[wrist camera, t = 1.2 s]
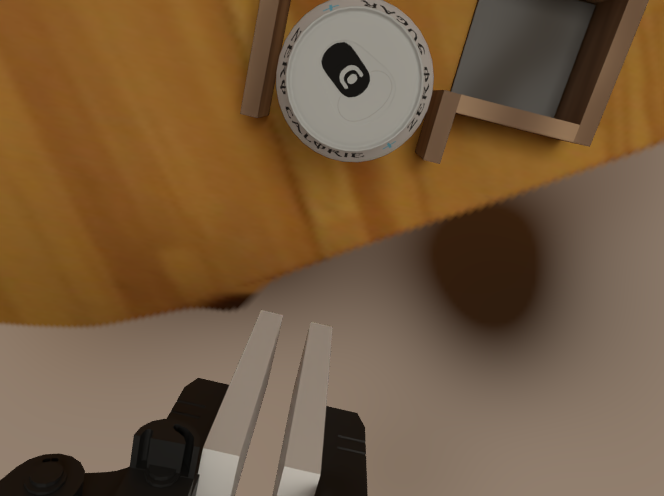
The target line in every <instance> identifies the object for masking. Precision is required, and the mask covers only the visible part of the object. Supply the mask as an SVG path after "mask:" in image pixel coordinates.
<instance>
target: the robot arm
mask: <svg viewBox="0 0 664 496" xmlns="http://www.w3.org/2000/svg"><path fill="white" fill-rule="evenodd" d="M282 319H283V315H281V314H277V313H273V312H269V311H264V310H261V311H260V314H259V316H258V318H257V321H256V323H255V326H254V328H253V330H252V333H251V335H250V337H249V340H248V342H247V344H246V347H245V349H244V352H243V354H242V356H241V359H240V361H239V363H238V366H237V368H236V371H235V373H234V376H233V378H232V380H231V383H230V385H227V384H223V383H218V382H214V381H210V380H205V379H201V378H197V379H196V380H194V381H193V382H191V383H190V384H189V385H187V386H186V387H184V389H183V391H182V393H181V394H180V396H179V398H178V400H177V402H176V403H175V405H174V407H173V408H172V411H171V413H170V414H169V416H168V417H167V419H162V420H156V421H152V422H150V423H148V424H146V425H144V426H142V427H141V428H140V429H139V430H138V431H137V432H136V433H135V435H134V440H133V447H132V455H131V462H130V467H128V468H125V469H121V470H118V471H112V472H102V473H85V470H84V468H83V466H82V465H81V462H79V461H78V460H76V459H74V458H73V457H72V456H67V455H63V454H46V455H42V456H38V457H35V458H32V459H29V460H27V461H26V462H24V463H23V464H21V465H19V466H18V467H16V468H15V469H14V470H12V471H11V472H10V473H9V474H8V475H6V476H5V477H4V478H3V479H1V480H0V496H235V493H236V490H237V486H238V483H239V480H240V476H241V472H242V469H243V465H244V462H245V459H246V456H247V452H248V449H249V445H250V441H251V438H252V435H253V432H254V428H255V425H256V421H257V418H258V414H259V411H260V408H261V404H262V401H263V397H264V394H265V390H266V387H267V384H268V379H269V375H270V370H271V366H272V362H273V358H274V353H275V349H276V344H277V340H278V336H279V332H280V328H281V323H282ZM332 330H333V327H331V326H327V325H323V324H319V323H315V322H310V327H309V330H308V334H307V338H306V342H305V346H304V350H303V354H302V358H301V362H300V366H299V370H298V374H297V378H296V382H295V386H294V390H293V395H292V400H291V405H290V410H289V415H288V420H287V425H286V430H285V435H284V440H283V445H282V450H281V455H280V460H279V465H278V470H277V475H276V480H275V486H274V491H273V496H367V471H366V456H365V454H366V445H365V427H364V425H363V423H362V421H361V419H360V418H359V416H358V414H357V413H354V412H350V411H345V410H341V409H337V408H332V407H328V406H326V402H327V391H328V379H329V367H330V355H331V342H332Z"/></svg>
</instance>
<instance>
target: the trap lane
mask: <svg viewBox="0 0 664 496" xmlns="http://www.w3.org/2000/svg"><path fill="white" fill-rule="evenodd" d="M290 1H291V0H260V4H259V10H258V16H257V21H256V27H255V33H254V39H253V44H252V50H251V56H250V61H249V67H248V73H247V78H246V84H245V90H244V96H243V101H242V107H241V113H240V114H243V115H247V116H251V117H255V118H259V117H263V116H267V115H269V110H270V105H271V100H272V95H273V89H274V84H275V79H276V70H277V65H278V59H279V55H280V52H281V48H282V43H283V38H284V33H285V27H286V22H287V17H288V12H289V7H290ZM583 1H584V2H583ZM648 1H649V0H580V1H579V0H478V2H477V6H476V9H475V12H474V16H473V19H472V22H471V25H470V29H469V32H468V35H467V39H466V42H465V45H464V49H463V52H462V55H461V58H460V62H459V65H458V68H457V72H456V75H455V78H454V82H453V85H452V88H451V91H446V90H434V91H433V92H432V96H431V100H430V103H429V107H428V110H427V113H426V116H425V120H424V123H423V126H422V130H421V133H420V137H419V140H418V143H417V147H416V150H415V152H416V153H417V154H418V155H419V156H420V157H421V158H422V159H423V160H426V161H430V162H434V163H438V164H440V162H441V159H442V155H443V152H444V149H445V146H446V143H447V139H448V136H449V133H450V130H451V126H452V123H453V120H454V117H455V114H460V115H464V116H468V117H472V118H476V119H480V120H484V121H488V122H492V123H496V124H500V125H503V126H507V127H511V128H515V129H519V130H523V131H527V132H531V133H535V134H539V135H543V136H547V137H551V138H554V139H558V140H562V141H567V142H571V143H576V144H580V145H585V146H589V147H590V145H591V142H592V140H593V137H594V135H595V132H596V130H597V127H598V125H599V123H600V120H601V118H602V115H603V113H604V110H605V108H606V105H607V103H608V100H609V98H610V95H611V93H612V90H613V88H614V85H615V83H616V80H617V78H618V75H619V73H620V70H621V68H622V65H623V63H624V60H625V58H626V55H627V53H628V51H629V48H630V46H631V43H632V41H633V38H634V36H635V33H636V31H637V28H638V26H639V23H640V21H641V18H642V16H643V13H644V11H645V8H646V6H647V3H648ZM586 2H588V3H586ZM590 3H592V4H590ZM594 4H596V5H594Z"/></svg>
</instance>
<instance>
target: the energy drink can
mask: <svg viewBox="0 0 664 496" xmlns="http://www.w3.org/2000/svg"><path fill="white" fill-rule="evenodd" d="M433 80H434V75H433V64H432V59H431V55H430V52H429V48H428V45H427V43H426V41H425V39H424V37H423V36H422V34H421V32H420V30H419V29H418V28H417V26H416V25H415V24H414V23H413V21H412V20H411V19H410V18H409V17H408V16H407V15H405V14H404V13H403V12H402V11H401V10H399V9H398V8H397V7H395V6H393V5H391V4H389V3H387V2H385V1H383V0H330V1H327V2H325V3H322V4H320V5H318V6H317V7H315V8H314V9H312V10H311V11H310V12H308V13H307V14H305V15H304V16H303V17H302V19H301V20H300V21H299V22H298V23H297V24H296V25H295V26H294V27H293V29H292V30H291V32H290V34H289V35H288V37H287V38H286V40H285V42H284V45H283V47H282V50H281V52H280V55H279V59H278V65H277V70H276V90H277V95H278V101H279V105H280V108H281V110H282V113H283V115H284V118H285V120H286V121H287V123H288V125H289V126H290V128H291V129H292V131H293V132H294V133H295V135H296V136H297V137H298V138H299V139H300V140H301V141H302V142H303V143H304V144H305V145H307V146H308V147H310V148H311V149H312V150H314V151H315V152H317V153H319V154H321V155H323V156H325V157H328V158H331V159H335V160H339V161H343V162H362V161H368V160H374V159H376V158H379V157H382V156H384V155H387V154H389V153H390V152H392V151H394V150H395V149H397V148H398V147H400V146H401V145H402V144H403V143H404V142H405V141H407V140H408V139H409V138H410V137H411V136H412V135H413V133H414V132H415V131H416V129H417V128H418V127H419V125H420V124H421V122H422V120H423V118H424V116H425V114H426V112H427V110H428V107H429V103H430V100H431V96H432V91H433Z"/></svg>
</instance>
